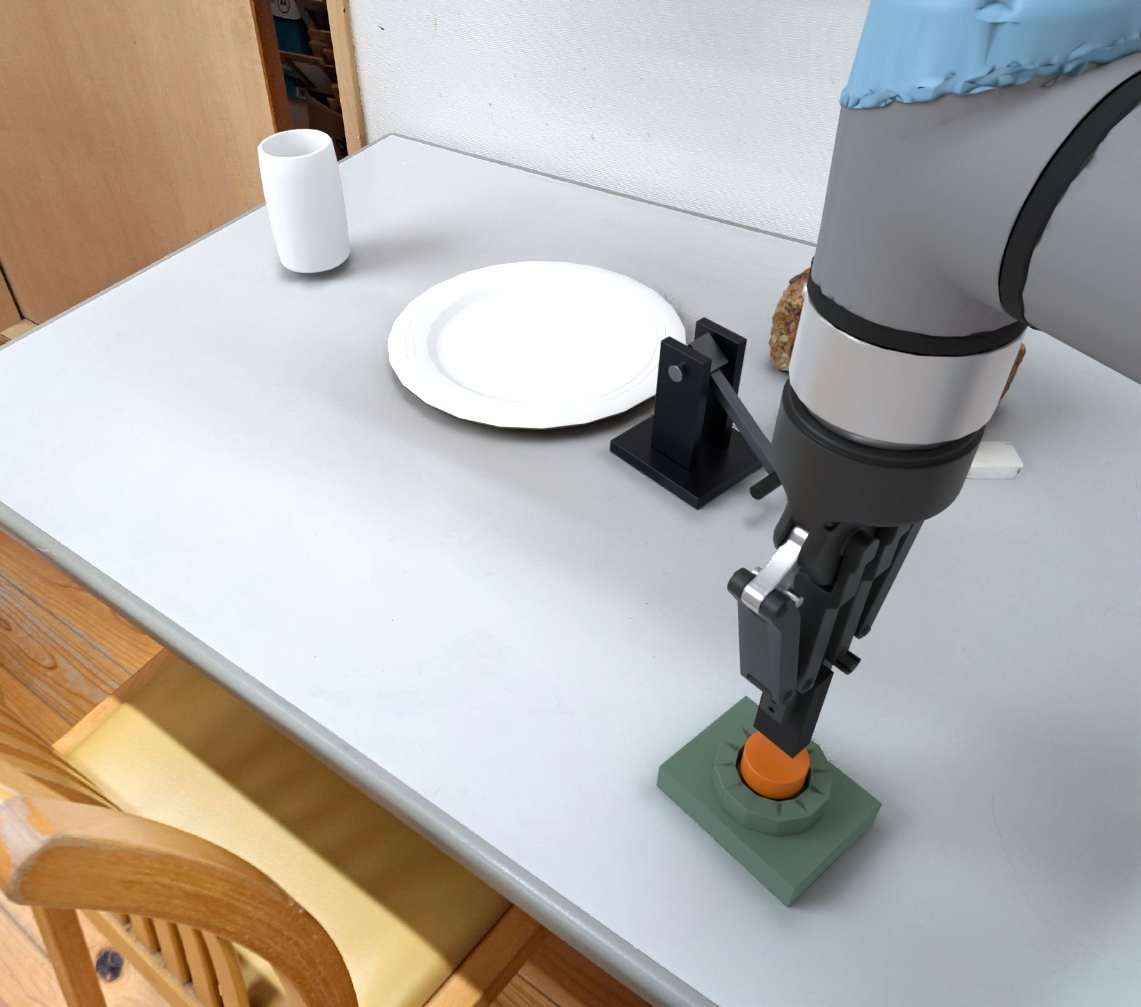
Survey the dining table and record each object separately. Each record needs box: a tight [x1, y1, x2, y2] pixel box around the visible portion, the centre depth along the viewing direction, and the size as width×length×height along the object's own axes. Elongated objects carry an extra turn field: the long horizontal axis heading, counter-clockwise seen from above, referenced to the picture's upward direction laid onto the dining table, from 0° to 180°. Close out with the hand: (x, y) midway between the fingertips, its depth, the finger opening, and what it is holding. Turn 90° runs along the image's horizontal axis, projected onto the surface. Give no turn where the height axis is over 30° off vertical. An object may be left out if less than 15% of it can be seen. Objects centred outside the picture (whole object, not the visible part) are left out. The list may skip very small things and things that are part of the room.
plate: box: [387, 260, 687, 431], centre depth 94 cm, size 29×29×2 cm
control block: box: [656, 695, 883, 908], centre depth 57 cm, size 10×8×4 cm
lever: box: [686, 333, 782, 501], centre depth 75 cm, size 13×6×2 cm
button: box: [741, 731, 810, 799], centre depth 55 cm, size 4×4×2 cm
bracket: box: [609, 316, 763, 510], centre depth 78 cm, size 10×9×12 cm
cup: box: [257, 128, 351, 274], centre depth 105 cm, size 8×8×14 cm
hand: (781, 734), depth 53 cm, fingers closed
